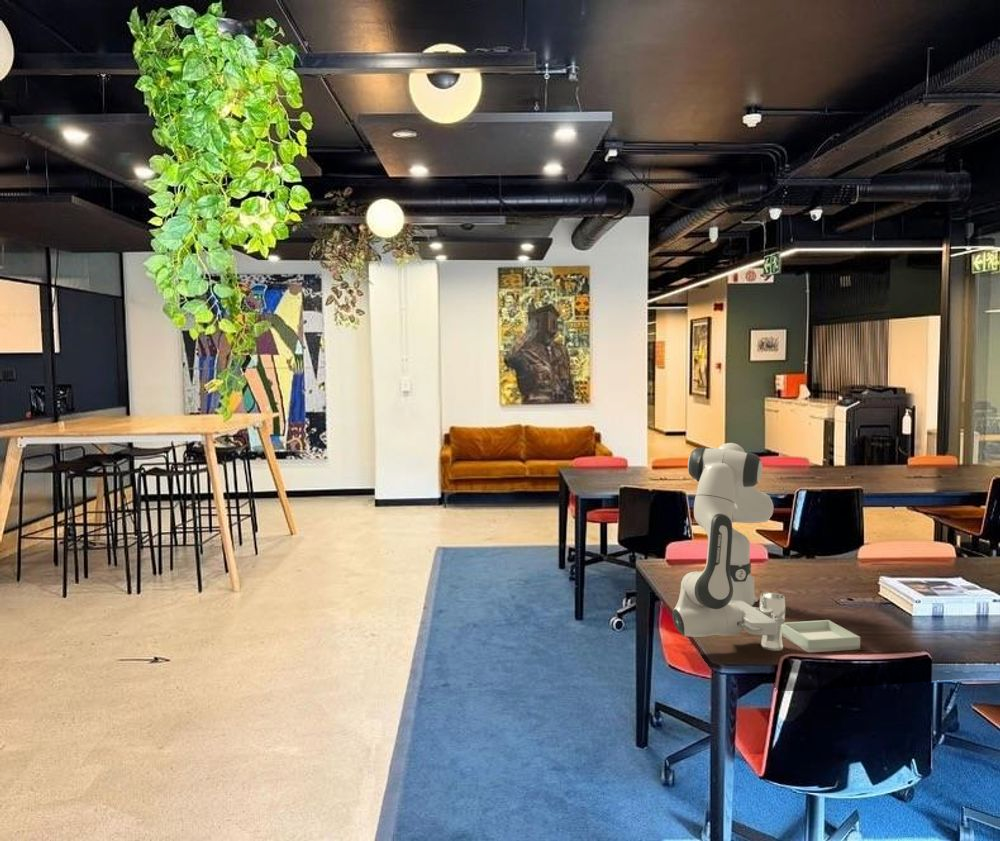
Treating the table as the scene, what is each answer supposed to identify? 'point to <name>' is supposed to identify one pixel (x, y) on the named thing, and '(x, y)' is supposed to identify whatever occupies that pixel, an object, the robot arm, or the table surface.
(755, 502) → the robot arm
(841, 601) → the table surface
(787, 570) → the table surface
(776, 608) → the beer glass
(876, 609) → the table surface
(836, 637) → the light gray opaque tray
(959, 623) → the table surface
